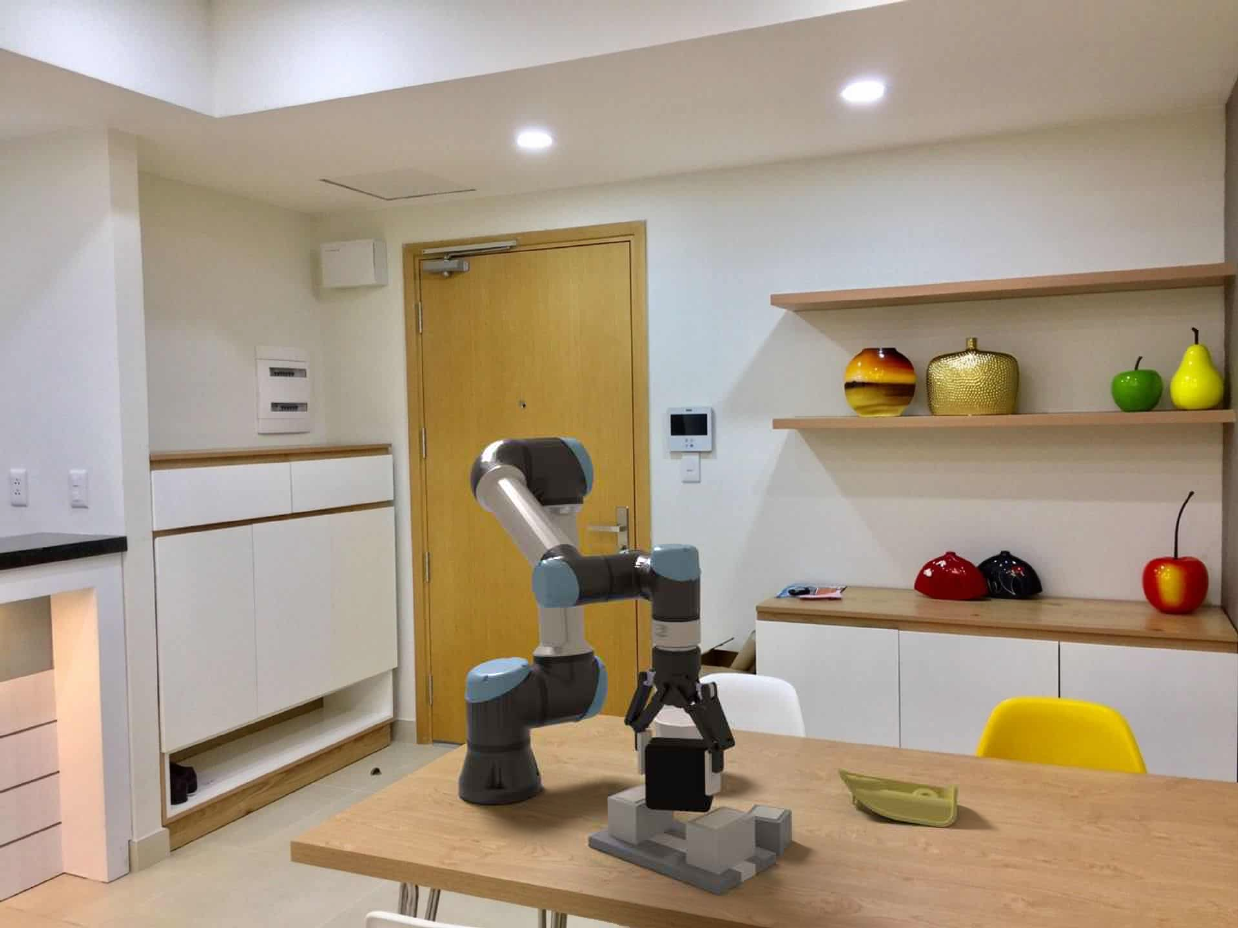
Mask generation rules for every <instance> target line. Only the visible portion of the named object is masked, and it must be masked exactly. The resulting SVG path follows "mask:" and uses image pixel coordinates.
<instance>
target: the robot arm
mask: <svg viewBox="0 0 1238 928" xmlns="http://www.w3.org/2000/svg"><path fill="white" fill-rule="evenodd" d="M594 472H595V471H594V467H593V463H592V459H591V457H590V454H589V451H588V450H587V448H585V446H584V445H583V444H582V442H580V441H579V440H578V439H575V438H571V437H559V436H556V437H555V436H554V437H535V438H534V437H533V438H532V437H531V438H503V439H499V440H496V441H494V442H491V443H489V444H488V445H487V446H485V447H484V448H483V449H482V450H481V451H480V452H479V453H478V454H477V456H476V458H475V460H474V461H473V463H472V465H471V469H470V473H469V486H470V490H471V492H472V495H473V497H474V498H475V500H476V502H477V503H478V504H479V506H480V507H481V508H482V509H483V510H484V511H487V512H488V513H492V514H493V515H494V517H495V519H497V521H498V522H499V524H500V525H501V527H502V528H503V529H504V531H505V532H506V533H507V535H508V537H510V539H511V540H512V542H513V543H514V545H515V546H516V547H517V548H518V550H519V551H520V553H521V554H522V555H523V557H524V559H526V560H527V562H528V563H529V564H530V566H531V567H532V572H531V581H530V582H531V589H532V592H533V593H534V598H535V601H536V602H537V614H538V615H537V616H538V630H539V645H538V646H537V647H536V648H535V650H534V651H533V652H532V661H533V664H532V663H531V664H530V663H529V661H528V660H527V659H526V658H522V657H508V658H506V657H503V658H496V659H493V660H489V661H486V662H485V661H484V662H483V663H480V664H478V665H476V666H474V667H473V668H471V670H469V672H468V674H467V676H466V678H465V693H464V699H465V710H466V711H465V712H466V713H465V715H466V722H465V723H466V753H465V757H464V761H463V765H462V768H461V772H460V775H459V777H458V779H457V780H458V782H457V785H458V786H457V787H458V789H457V790H458V796H459V797H460V798H462V799H463V800H465V801H468V802H471V803H476V804H482V805H504V804H512V803H517V802H522V801H524V800H527V799H531V798H533V797H534V796H535V795H537V794H538V793H540V792H541V789H542V775H541V774H542V773H541V771H540V770H539V767H538V764H537V760H536V757H535V755H534V752H533V750H532V744H531V743H532V742H531V741H532V739H531V736H532V735H531V733H532V732H531V730H532V729H538V728H539V729H540V728H544V727H549V726H554V725H561V724H568V723H580V722H581V721H584V720H588V719H592V718H595V717H596V716H597V715H599V713H601V711H602V709H603V708H604V706H605V705H606V701H607V698H608V693H609V678H608V677H609V676H608V671H607V669H606V665H605V662H604V661H603V660H602V658H600V656H597V655H595V649H594V647H593V646H592V645H591V644H589V643H588V642H587V640H586V635H585V632H586V631H585V622H584V621H585V620H584V607H583V606H588V605H594V604H595V605H596V604H603V603H611V602H612V603H614V602H622V601H629V600H630V601H632V600H644V601H647V602H651V603H650V604H651V605H650V608H651V642H652V644H653V645H654V646H653V647H652V649H651V668H649V669H646V670H643V671H639V673H638V679H637V680H638V681H637V686H636V688H635V691H634V694H633V696H632V699H631V701H630V703H629V706H628V709H627V711H626V714H625V718H624V720H623V722H624V725H625V726H627V727H628V726H629V727H631V728H632V730H633V733H634V749H635V751H636V752H637V774H638V775H639V776H640V775H641V776H642V775H645V747H646V743H648V740H649V739H651V738H653V730H652V729H649V728H651V724H652V722H654V718H655V717H656V716H657V714H658V713H659V712H660V711H662V709H663V708H664V706H666V707H667V706H668V707H671V706H673V707H674V708H680V709H681V708H683V709H684V711H685V712H686V713H687V714H689V715H690V717H691V719H692V720H693V722H694V724H695V725H696V727H697V729H698V731H699V732H700V734H701V736H702V737H703V739H704V741H705V743H706V744H707V746H708V748H709V749H710V750H707V751H705V794H706V795H709V796H710V795H712V794H713V795H714V794H716V793H720V791H721V786H722V785H721V782H722V781H721V772H723V771H724V769H725V768H724V767H725V759H724V758H725V757H724V756H725V755H724V754H725V751H726V750H729V749H731V748H733V747H735V746H736V741H735V738H734V736H733V733H732V730H731V727H730V725H729V722H728V720H727V717H726V715H725V712H724V709H723V707H722V703H721V701H720V699H719V693H718V684H717V683H716V681H711V682H707V683H705V682H701V681H700V677H699V675H700V672H701V669H702V650H701V648H700V646H699V644H701V643H702V629H701V627H702V626H701V575H702V571H701V567H700V554H699V553H700V552H699V549H698V548H697V547H696V546H694V545H692V544H687V543H685V544H684V543H683V544H682V543H664V544H656V545H654V546H653V547H652V548H651V551H649V552H647V551H646V550H643V549H623V550H621V551H620V552H618V553H612V554H597V555H587V556H586V555H585V556H584V555H583V554H582V553H581V552H580V547H579V536H578V535H579V533H578V529H579V528H578V517H577V516H578V513H579V512H580V511H581V510H582V508H583V507H584V506H585V504H584V498H585V497H587V496H589V495H590V493H591V492H592V490H593V484H594V482H595V481H594V480H595V473H594ZM654 686H655V689H656V691H655V693H654V694H653V695H652V697H651V698H650V696H651V693H652V690H653V687H654ZM649 698H650V702H649V703H648V700H649ZM647 703H648V704H647Z"/></svg>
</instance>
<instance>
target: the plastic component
mask: <svg viewBox="0 0 1238 928" xmlns="http://www.w3.org/2000/svg"><path fill="white" fill-rule="evenodd" d="M836 767H837V771H838V775H839V778H840V779H841V780H842V781H843V783H844V784H845V786H846V788H847V789H848V791H849V792H850V793H851V795H852V798H851V804H852V805H853V806H859V807H865V808H868V809H869V810H871V811H872V812H874V813H876V814H878V815H880V816H882V817H885V818H887V819H888V818H889V819H891V820H895V821H899V822H904V823H910V824H916V825H923V826H929V827H930V826H931V827H937V828H946V827H948V826H950V825H952V824H953V823H954V821H955V820H956V818H957V815H958V813H957V812H958V795H959V794H958V790H959V784H957V783H953V785H952V787H942V786H936V785H930V784H929V785H928V784H921V783H916V782H909V781H903V780H896V779H889V778H883V777H878V776H871V775H864V774H858V773H854V772H849V771H846V770H843V769H842V767H841V766H839V765H838V766H836Z"/></svg>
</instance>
